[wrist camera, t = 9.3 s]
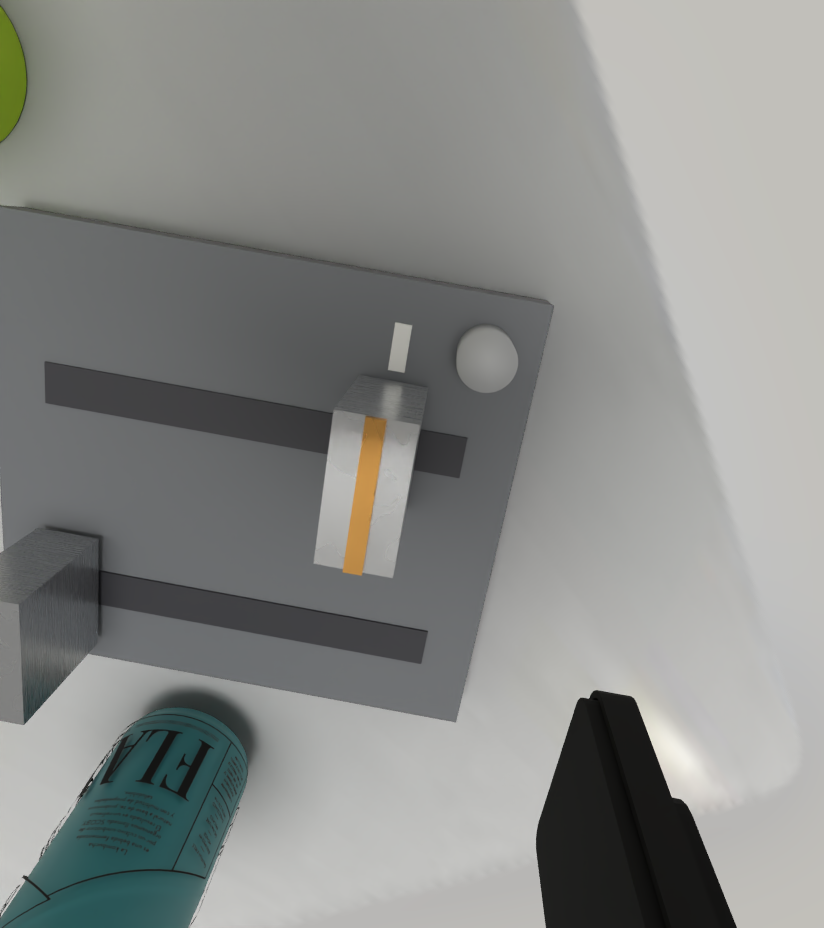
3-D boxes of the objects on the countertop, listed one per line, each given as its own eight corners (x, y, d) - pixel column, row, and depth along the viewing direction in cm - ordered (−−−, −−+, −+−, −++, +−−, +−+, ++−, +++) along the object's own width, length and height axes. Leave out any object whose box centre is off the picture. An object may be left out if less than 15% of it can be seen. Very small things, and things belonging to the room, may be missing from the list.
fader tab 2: (359, 374, 23) (332, 411, 18) (428, 387, 23) (419, 427, 18) (341, 502, 25) (312, 566, 20) (405, 513, 25) (392, 581, 20)
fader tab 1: (37, 527, 26) (-56, 591, 21) (98, 538, 26) (18, 604, 21) (40, 632, 28) (-45, 712, 23) (98, 642, 28) (24, 725, 23)
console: (22, 207, 24) (-57, 201, 21) (546, 300, 24) (562, 311, 20) (36, 614, 30) (-24, 667, 27) (456, 691, 30) (455, 756, 26)
